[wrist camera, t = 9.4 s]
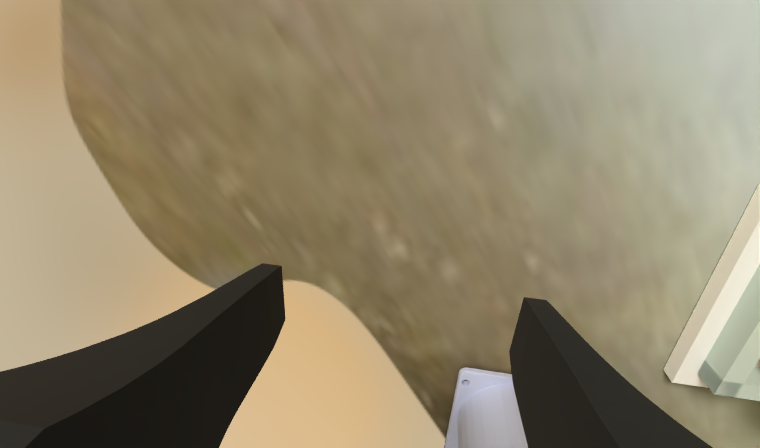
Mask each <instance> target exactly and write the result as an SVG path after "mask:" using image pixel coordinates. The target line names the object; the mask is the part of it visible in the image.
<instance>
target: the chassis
mask: <svg viewBox="0 0 760 448" xmlns="http://www.w3.org/2000/svg"><path fill="white" fill-rule="evenodd" d="M663 370H664V371H665V373H666V374H667V376H668V377H669V379H670V380H671V382H672V383H679V384H686V385H692V386H699V387H706V388H710V390H711V391H712V392H713V394H715V395H722V396H729V397H735V398H742V399H749V400H756V401H760V184H759V185H758V187H757V189H756V190H755V192H754V194H753V196H752V198H751V200H750V202H749V204H748V206H747V208H746V210H745V212H744V214H743V216H742V218H741V220H740V221H739V223H738V225H737V227H736V229H735V231H734V233H733V235H732V237H731V239H730V241H729V243H728V245H727V247H726V249H725V251H724V253H723V254H722V256H721V258H720V260H719V262H718V264H717V266H716V268H715V270H714V272H713V274H712V276H711V278H710V280H709V282H708V284H707V286H706V287H705V289H704V291H703V293H702V295H701V297H700V299H699V301H698V303H697V305H696V307H695V309H694V311H693V313H692V315H691V317H690V318H689V320H688V322H687V324H686V326H685V328H684V330H683V332H682V334H681V336H680V338H679V340H678V342H677V344H676V346H675V348H674V350H673V351H672V353H671V355H670V357H669V359H668V361H667V363H666V365H665V367H664V369H663Z"/></svg>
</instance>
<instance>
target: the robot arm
mask: <svg viewBox="0 0 760 448" xmlns="http://www.w3.org/2000/svg"><path fill="white" fill-rule="evenodd" d="M284 321H285V308H284V293H283V279H282V266H278V265H270V264H261V265H259V266H257V267H255V268H253V269H251V270H249V271H247V272H246V273H244V274H242V275H241V276H239V277H237V278H235V279H234V280H232V281H230V282H228V283H227V284H225V285H223V286H221V287H220V288H218V289H216V290H214V291H213V292H211V293H209V294H207V295H206V296H204V297H202V298H200V299H198V300H196V301H194V302H192V303H190V304H188V305H186V306H184V307H182V308H181V309H179V310H177V311H175V312H173V313H171V314H169V315H166V316H164V317H162V318H160V319H158V320H156V321H153V322H151V323H149V324H146V325H144V326H142V327H139V328H137V329H135V330H132V331H130V332H127V333H125V334H122V335H119V336H116V337H114V338H111V339H108V340H105V341H102V342H100V343H97V344H94V345H91V346H89V347H86V348H83V349H80V350H77V351H74V352H71V353H67V354H64V355H61V356H58V357H54V358H51V359H47V360H44V361H40V362H36V363H33V364H29V365H26V366H22V367H18V368H15V369H10V370H6V371H2V372H0V448H219V446H220V444H221V442H222V439H223V437H224V435H225V433H226V431H227V429H228V427H229V425H230V423H231V421H232V419H233V417H234V415H235V413H236V412H237V410H238V408H239V406H240V405H241V403H242V401H243V400H244V398H245V396H246V395H247V393H248V391H249V389H250V388H251V386H252V384H253V382H254V381H255V379H256V377H257V376H258V374H259V372H260V371H261V369H262V367H263V365H264V363H265V362H266V360H267V358H268V357H269V355H270V353H271V351H272V350H273V348H274V345H275V343H276V341H277V338H278V336H279V334H280V331H281V329H282V326H283V323H284ZM510 362H511V372H512V374H506V373H500V372H493V371H487V370H480V369H474V368H462V369H461V370H460V371H459V374H458V379H457V385H456V390H455V395H454V400H453V405H452V410H451V415H450V420H449V425H448V430H447V435H446V441H445V446H444V448H712V447H711V446H710V445H708V444H707V443H705V442H704V441H703V440H701V439H700V438H698V437H697V436H696V435H694V434H693V433H691V432H690V431H689V430H687V429H686V428H685V427H683V426H682V425H681V424H679V423H678V422H677V421H675V420H674V419H673V418H671V417H670V416H669V415H668V414H666V413H665V412H664V411H663V410H661V409H660V408H659V407H658V406H656V405H655V404H654V403H653V402H651V401H650V400H649V399H648V398H647V397H645V396H644V395H643V394H642V393H641V392H639V391H638V390H637V389H636V388H635V387H634V386H632V385H631V384H630V383H629V382H628V381H627V380H626V379H625V378H624V377H622V376H621V375H620V374H619V373H618V372H617V371H616V370H615V369H614V368H613V367H611V366H610V365H609V364H608V363H607V362H606V361H605V360H604V359H603V358H602V357H601V356H600V355H599V354H598V353H597V352H596V351H595V350H594V349H593V348H592V347H591V346H590V345H589V344H588V343H587V342H586V341H585V340H584V339H583V338H582V337H581V336H580V335H579V334H578V333H577V332H576V331H575V330H574V329H573V327H572V326H571V325H570V324H569V323H568V322H567V321H566V320H565V319H564V318H563V317H562V316H561V315H560V314H559V313H558V312H557V311H556V309H555V308H554V307H553V306H552V305H551V304H550V303H549V302H548V301H547V300H541V299H533V298H525V297H524V299H523V303H522V307H521V310H520V314H519V318H518V322H517V325H516V329H515V333H514V337H513V340H512V344H511V348H510ZM464 380H467V381H464Z"/></svg>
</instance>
